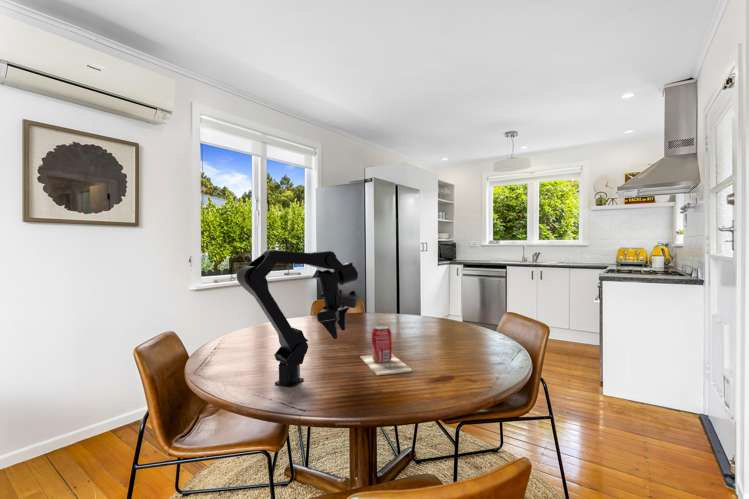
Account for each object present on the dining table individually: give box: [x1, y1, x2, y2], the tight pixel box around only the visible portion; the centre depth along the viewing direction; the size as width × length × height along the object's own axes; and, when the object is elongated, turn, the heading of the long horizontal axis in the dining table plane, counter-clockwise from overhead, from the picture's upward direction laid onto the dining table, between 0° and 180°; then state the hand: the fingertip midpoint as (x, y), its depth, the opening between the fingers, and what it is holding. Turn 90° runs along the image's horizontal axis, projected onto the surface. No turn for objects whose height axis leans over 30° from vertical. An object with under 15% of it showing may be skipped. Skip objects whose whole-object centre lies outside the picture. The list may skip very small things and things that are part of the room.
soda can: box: [371, 324, 393, 363], centre depth 133 cm, size 7×7×12 cm
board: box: [359, 353, 413, 376], centre depth 131 cm, size 20×12×1 cm, turn 18°
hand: (339, 334), depth 124 cm, fingers open, 9 cm apart
